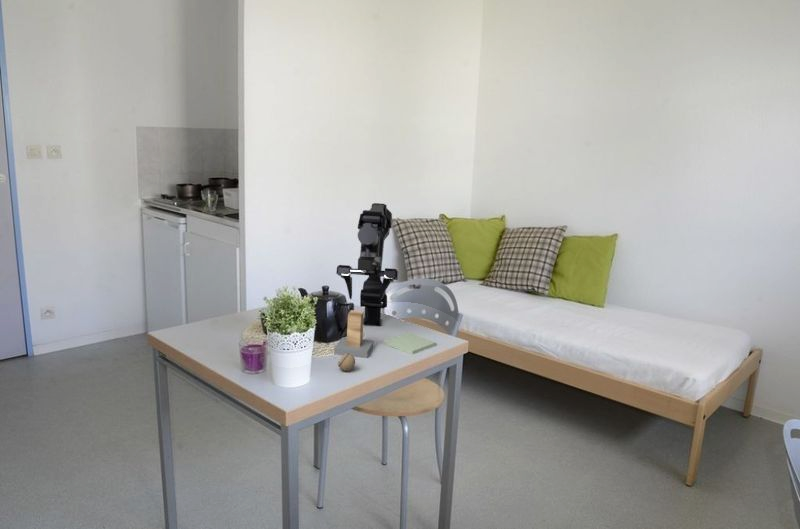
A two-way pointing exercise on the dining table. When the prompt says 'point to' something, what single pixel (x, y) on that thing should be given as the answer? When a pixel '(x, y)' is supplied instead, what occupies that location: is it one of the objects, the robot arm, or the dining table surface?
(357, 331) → the oak block
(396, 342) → the sage mat
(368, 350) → the grey block
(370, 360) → the dining table surface
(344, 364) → the door knob
